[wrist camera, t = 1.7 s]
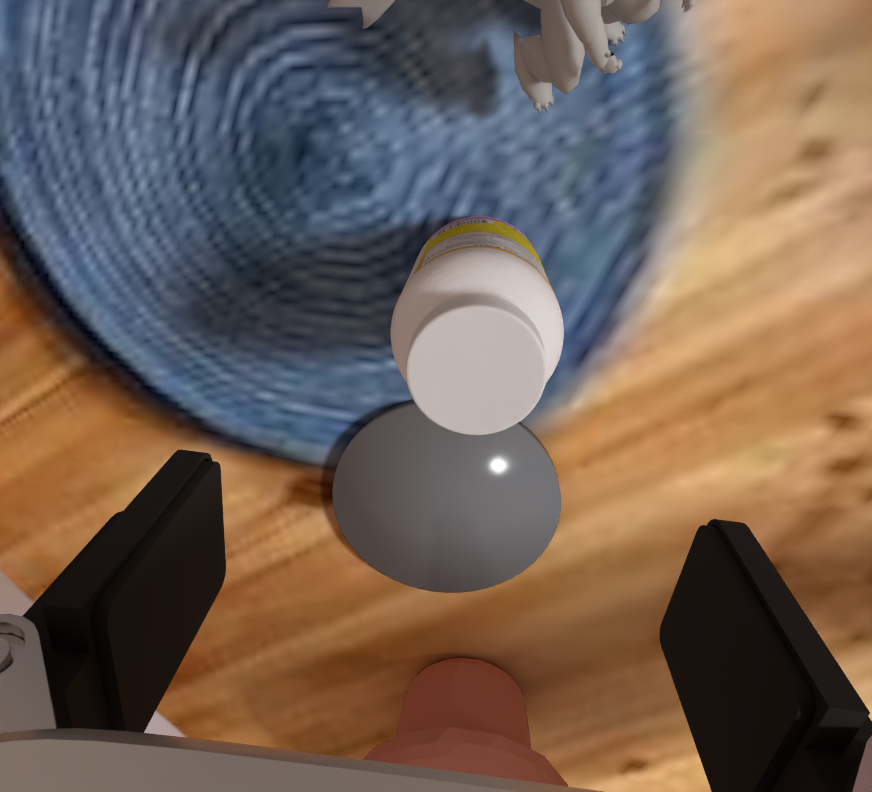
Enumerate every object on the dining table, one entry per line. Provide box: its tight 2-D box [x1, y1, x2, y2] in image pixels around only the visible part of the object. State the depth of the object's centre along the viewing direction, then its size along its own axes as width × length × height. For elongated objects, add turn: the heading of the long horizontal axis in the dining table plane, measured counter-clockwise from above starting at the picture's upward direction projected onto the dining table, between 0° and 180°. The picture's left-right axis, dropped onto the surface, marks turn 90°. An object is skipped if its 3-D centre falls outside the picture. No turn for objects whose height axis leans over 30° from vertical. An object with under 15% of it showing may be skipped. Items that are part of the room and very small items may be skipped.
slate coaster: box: [332, 400, 561, 593], centre depth 37 cm, size 14×14×1 cm
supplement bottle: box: [391, 216, 564, 435], centre depth 25 cm, size 7×7×13 cm
